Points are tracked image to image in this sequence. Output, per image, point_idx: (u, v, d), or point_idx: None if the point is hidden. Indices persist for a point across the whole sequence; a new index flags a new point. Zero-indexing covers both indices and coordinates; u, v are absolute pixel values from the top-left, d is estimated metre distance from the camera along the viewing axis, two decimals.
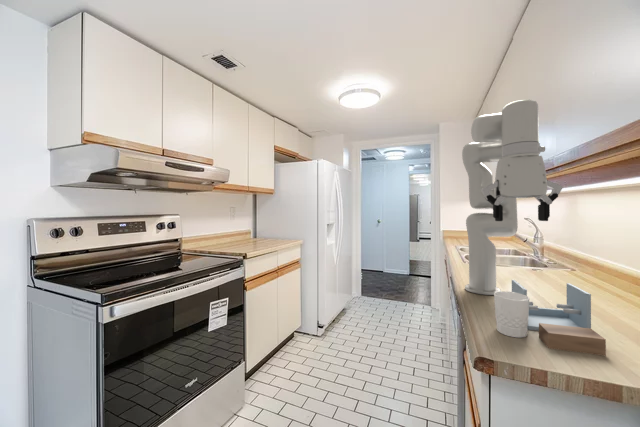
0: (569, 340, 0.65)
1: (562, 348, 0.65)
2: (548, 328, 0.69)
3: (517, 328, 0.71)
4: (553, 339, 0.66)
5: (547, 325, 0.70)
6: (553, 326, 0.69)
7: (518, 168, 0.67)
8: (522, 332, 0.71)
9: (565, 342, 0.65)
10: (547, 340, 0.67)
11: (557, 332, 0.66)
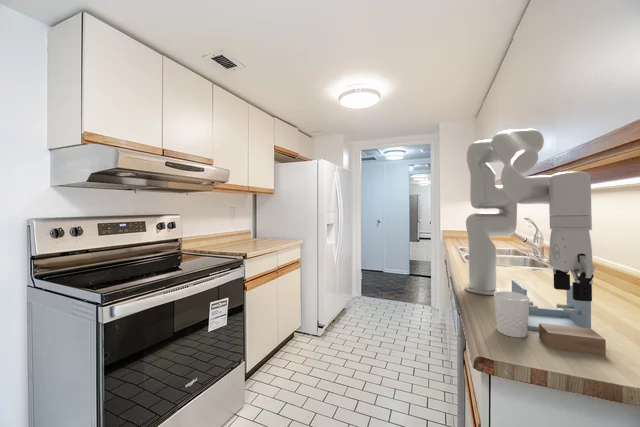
0: (569, 340, 0.65)
1: (562, 348, 0.65)
2: (548, 327, 0.69)
3: (517, 328, 0.71)
4: (553, 339, 0.66)
5: (547, 325, 0.70)
6: (553, 326, 0.70)
7: None
8: (522, 332, 0.71)
9: (565, 342, 0.65)
10: (547, 340, 0.67)
11: (557, 332, 0.66)
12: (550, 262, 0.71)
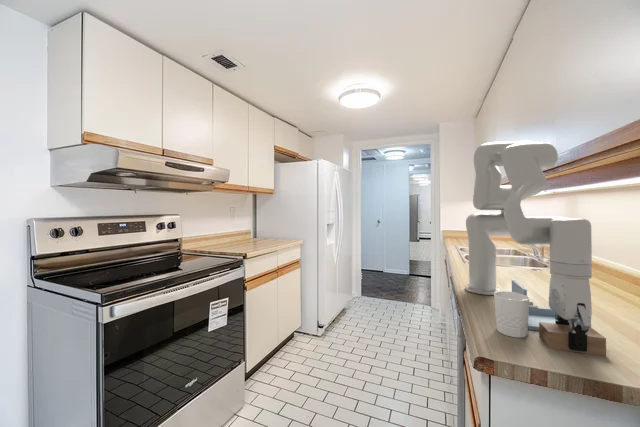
0: None
1: (562, 347, 0.65)
2: (548, 326, 0.69)
3: (517, 328, 0.71)
4: (553, 338, 0.66)
5: (547, 324, 0.70)
6: (553, 325, 0.69)
7: None
8: (522, 332, 0.71)
9: (565, 341, 0.65)
10: (547, 339, 0.67)
11: (557, 331, 0.66)
12: (550, 304, 0.71)
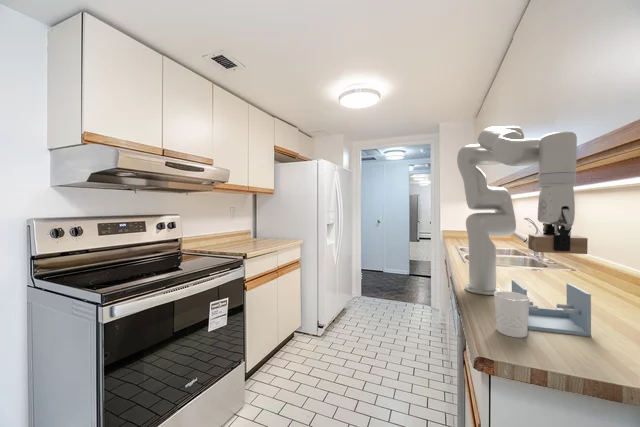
0: None
1: (548, 250, 0.72)
2: (536, 235, 0.75)
3: (517, 328, 0.71)
4: (540, 242, 0.72)
5: (536, 235, 0.76)
6: (541, 235, 0.76)
7: None
8: (522, 332, 0.71)
9: (551, 244, 0.71)
10: (535, 244, 0.73)
11: (544, 236, 0.73)
12: (538, 218, 0.77)
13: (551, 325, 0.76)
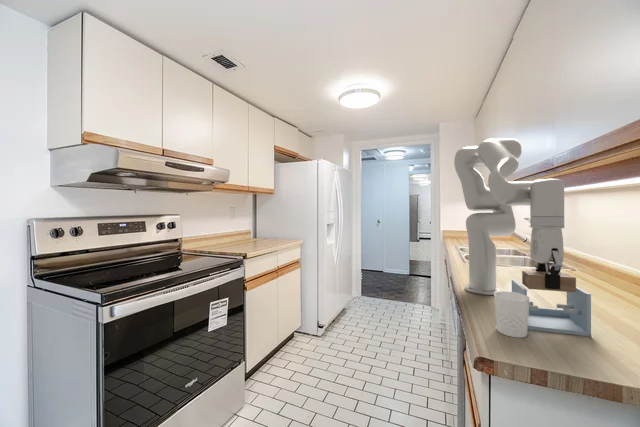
0: None
1: (540, 287, 0.77)
2: (529, 272, 0.81)
3: (517, 328, 0.71)
4: (532, 280, 0.78)
5: (529, 271, 0.82)
6: (534, 271, 0.82)
7: None
8: (522, 332, 0.71)
9: (543, 282, 0.77)
10: (528, 281, 0.79)
11: (536, 274, 0.78)
12: (531, 255, 0.83)
13: (551, 325, 0.76)
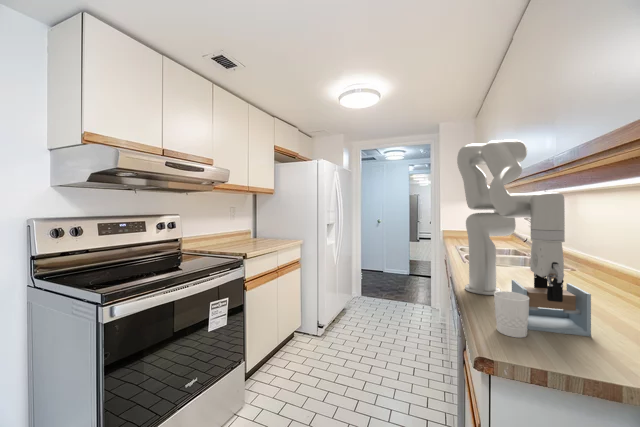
0: (546, 298, 0.77)
1: (540, 305, 0.77)
2: (529, 289, 0.81)
3: (517, 328, 0.71)
4: (533, 297, 0.78)
5: (528, 288, 0.82)
6: (533, 288, 0.82)
7: None
8: (522, 332, 0.71)
9: (543, 299, 0.77)
10: None
11: (536, 292, 0.78)
12: (531, 268, 0.83)
13: (551, 325, 0.76)
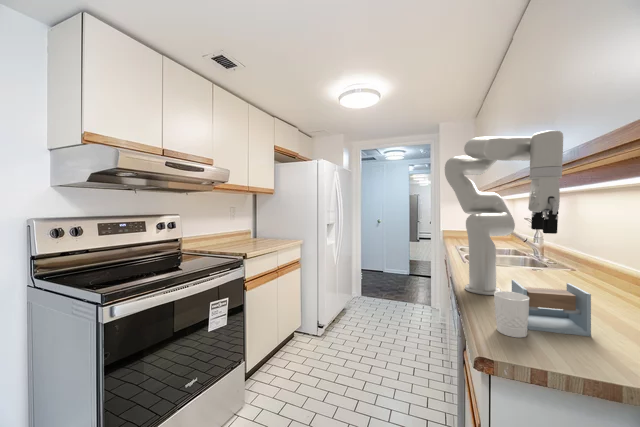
0: (546, 298, 0.77)
1: (540, 305, 0.77)
2: (529, 289, 0.81)
3: (517, 328, 0.71)
4: (533, 297, 0.78)
5: (528, 288, 0.82)
6: (533, 288, 0.82)
7: None
8: (522, 332, 0.71)
9: (543, 299, 0.77)
10: None
11: (536, 292, 0.78)
12: (529, 207, 0.87)
13: (551, 325, 0.76)
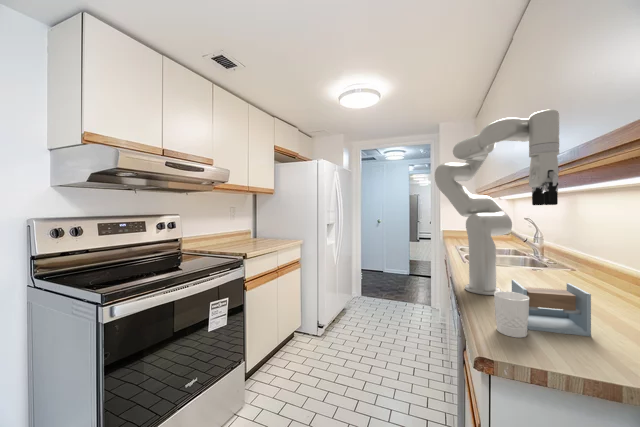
0: (546, 298, 0.77)
1: (540, 305, 0.77)
2: (529, 289, 0.81)
3: (517, 328, 0.71)
4: (533, 297, 0.78)
5: (528, 288, 0.82)
6: (533, 288, 0.82)
7: None
8: (522, 332, 0.71)
9: (543, 299, 0.77)
10: None
11: (536, 292, 0.78)
12: (529, 184, 0.92)
13: (551, 325, 0.76)
